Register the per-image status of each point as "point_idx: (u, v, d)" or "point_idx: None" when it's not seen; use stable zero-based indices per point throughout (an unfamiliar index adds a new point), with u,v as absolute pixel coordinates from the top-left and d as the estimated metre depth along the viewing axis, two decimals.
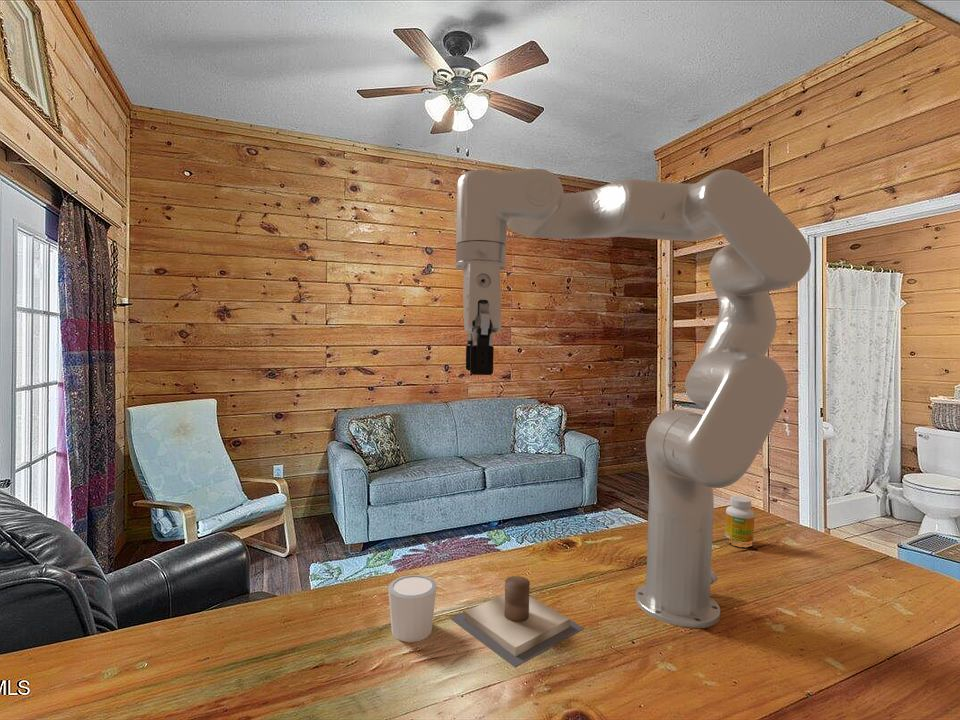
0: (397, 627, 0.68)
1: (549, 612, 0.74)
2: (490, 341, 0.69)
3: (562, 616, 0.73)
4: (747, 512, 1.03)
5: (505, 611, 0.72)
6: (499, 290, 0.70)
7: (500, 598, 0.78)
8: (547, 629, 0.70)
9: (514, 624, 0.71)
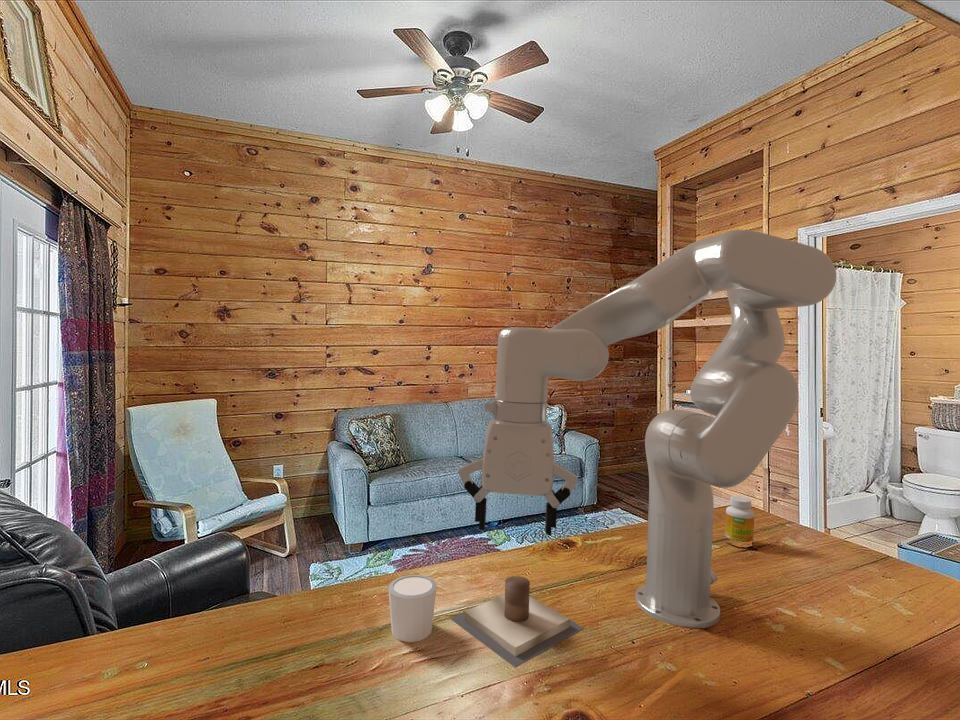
0: (397, 627, 0.68)
1: (549, 612, 0.74)
2: (474, 496, 0.72)
3: (562, 616, 0.73)
4: (747, 512, 1.03)
5: (505, 611, 0.72)
6: (485, 449, 0.70)
7: (500, 598, 0.78)
8: (547, 629, 0.70)
9: (514, 624, 0.71)
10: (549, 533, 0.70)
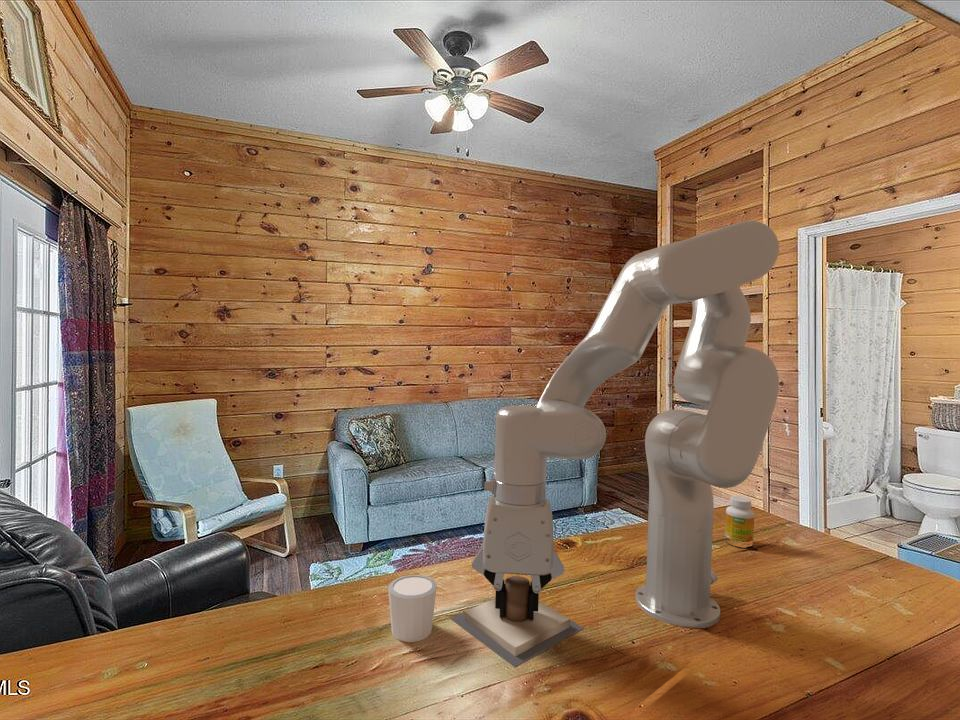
0: (397, 627, 0.68)
1: (549, 612, 0.74)
2: None
3: (562, 616, 0.73)
4: (747, 512, 1.03)
5: (505, 611, 0.72)
6: (486, 530, 0.71)
7: None
8: (547, 629, 0.70)
9: (514, 624, 0.71)
10: (531, 618, 0.71)
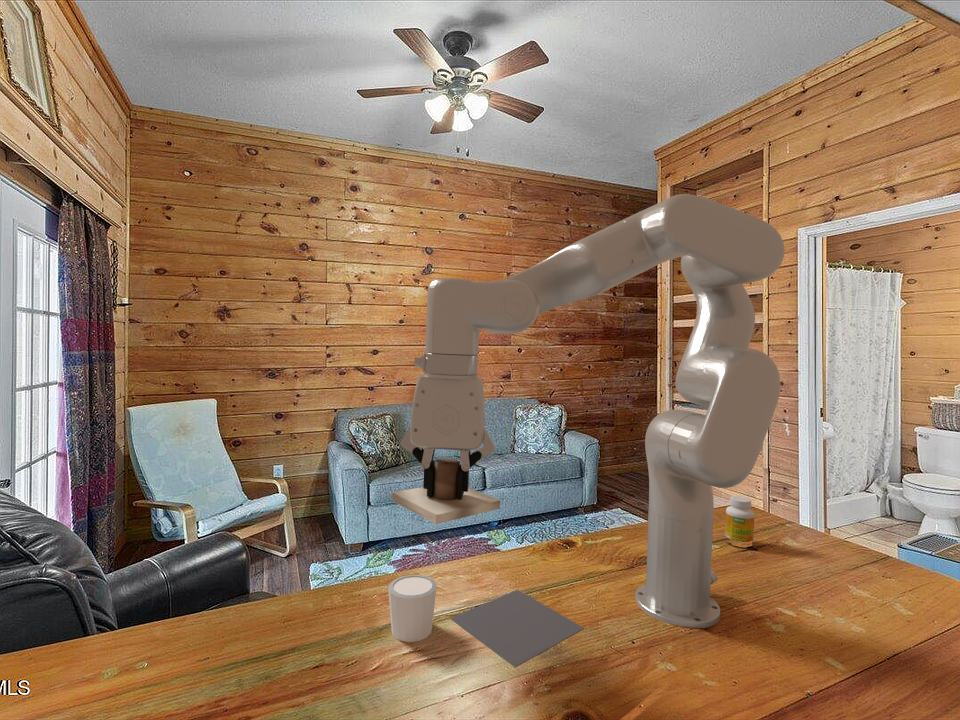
0: (397, 627, 0.68)
1: (480, 495, 0.72)
2: (422, 464, 0.70)
3: (493, 498, 0.71)
4: (747, 512, 1.03)
5: (433, 491, 0.70)
6: (413, 403, 0.68)
7: None
8: (474, 505, 0.67)
9: (440, 501, 0.68)
10: (459, 497, 0.69)
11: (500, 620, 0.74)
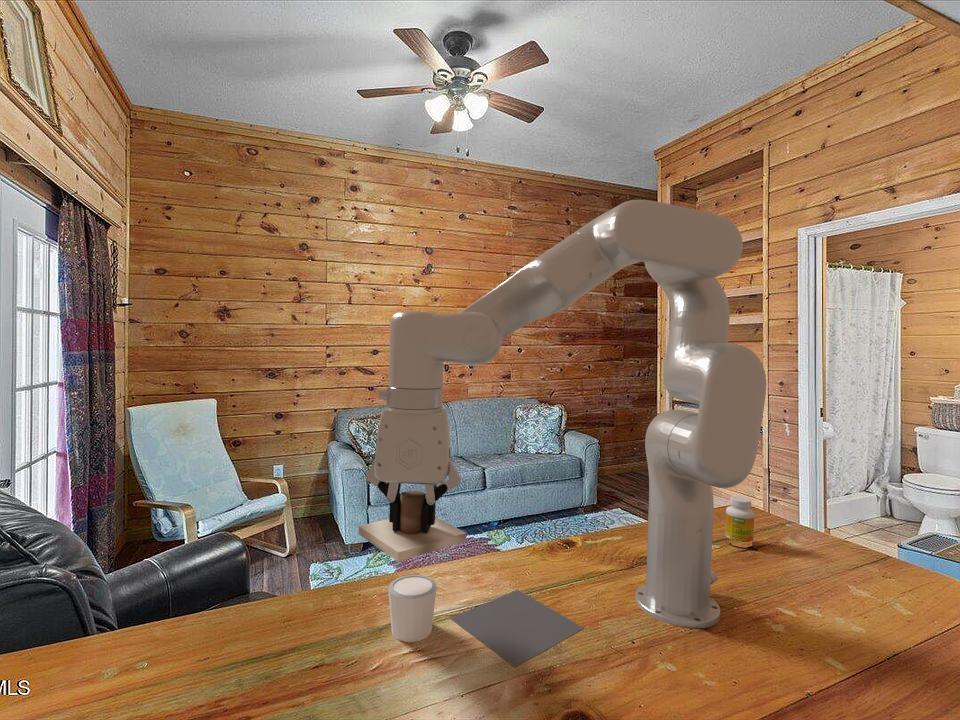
0: (397, 627, 0.68)
1: (447, 528, 0.71)
2: None
3: (459, 531, 0.70)
4: (747, 512, 1.03)
5: (399, 524, 0.70)
6: (377, 438, 0.68)
7: None
8: (438, 540, 0.67)
9: (405, 535, 0.68)
10: (425, 531, 0.69)
11: (500, 620, 0.74)
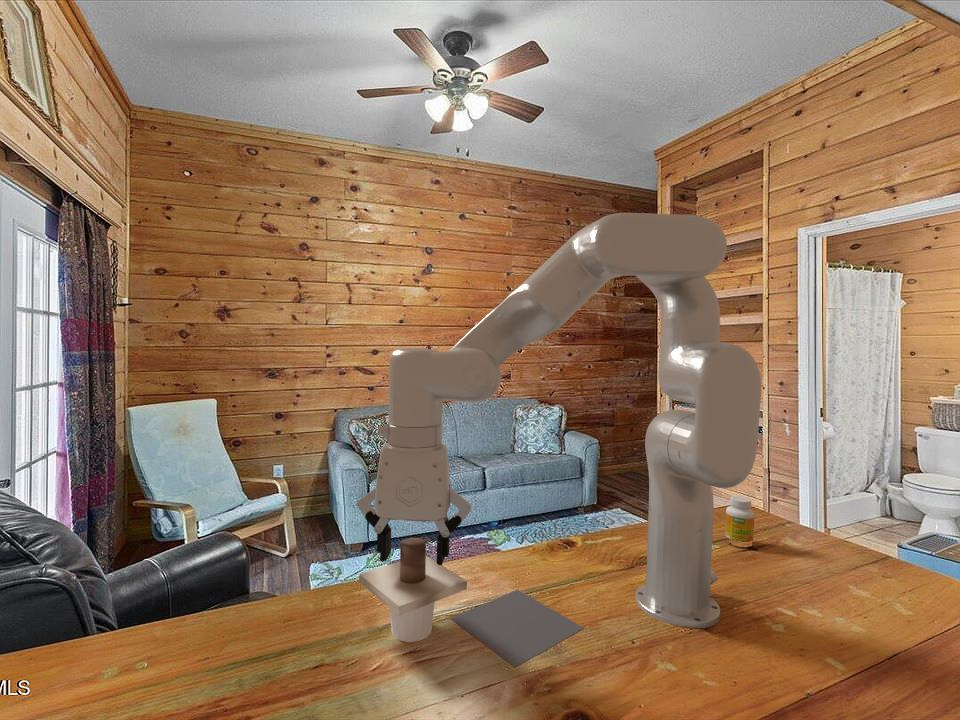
0: (397, 627, 0.68)
1: (448, 575, 0.71)
2: None
3: (460, 578, 0.70)
4: (747, 512, 1.03)
5: (400, 573, 0.70)
6: (377, 475, 0.68)
7: None
8: (439, 590, 0.67)
9: (406, 585, 0.68)
10: (439, 563, 0.69)
11: (500, 620, 0.74)
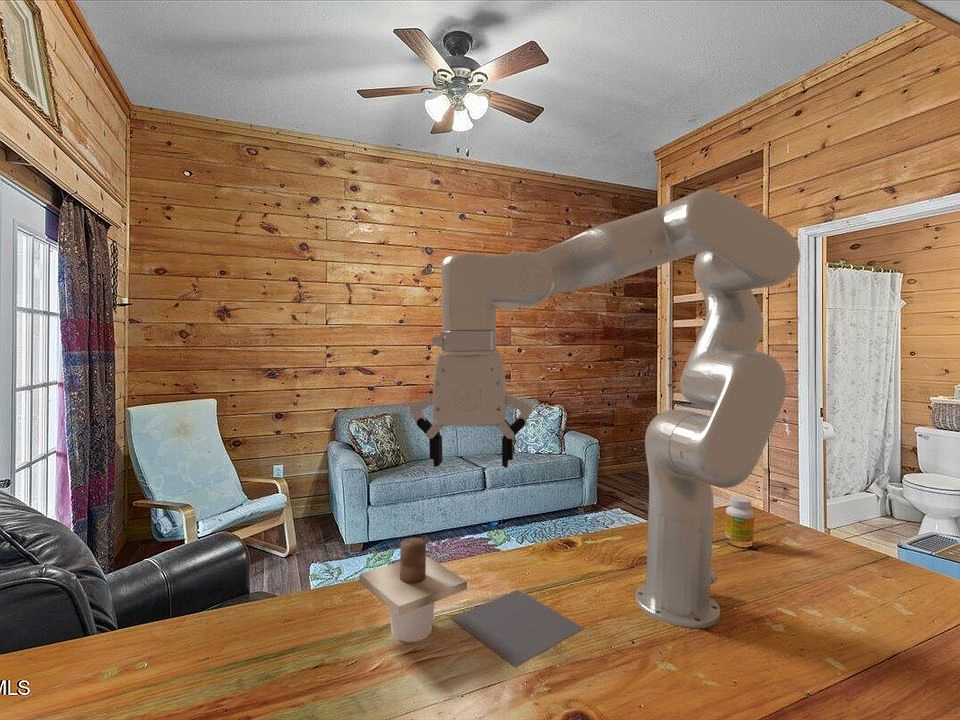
0: (397, 627, 0.68)
1: (448, 575, 0.71)
2: (426, 433, 0.70)
3: (460, 578, 0.70)
4: (747, 512, 1.03)
5: (400, 573, 0.70)
6: (434, 382, 0.68)
7: None
8: (439, 590, 0.67)
9: (406, 585, 0.68)
10: (505, 465, 0.68)
11: (500, 620, 0.74)
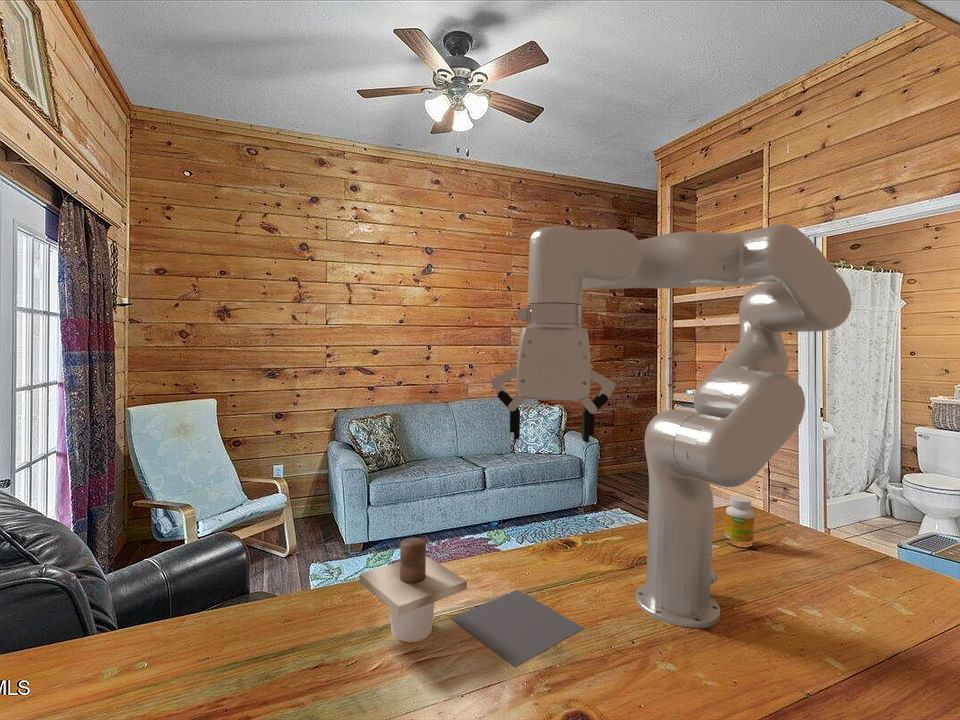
0: (397, 627, 0.68)
1: (448, 575, 0.71)
2: (508, 405, 0.70)
3: (460, 578, 0.70)
4: (747, 512, 1.03)
5: (400, 573, 0.70)
6: (520, 354, 0.68)
7: None
8: (439, 590, 0.67)
9: (406, 585, 0.68)
10: (587, 440, 0.68)
11: (500, 620, 0.74)
